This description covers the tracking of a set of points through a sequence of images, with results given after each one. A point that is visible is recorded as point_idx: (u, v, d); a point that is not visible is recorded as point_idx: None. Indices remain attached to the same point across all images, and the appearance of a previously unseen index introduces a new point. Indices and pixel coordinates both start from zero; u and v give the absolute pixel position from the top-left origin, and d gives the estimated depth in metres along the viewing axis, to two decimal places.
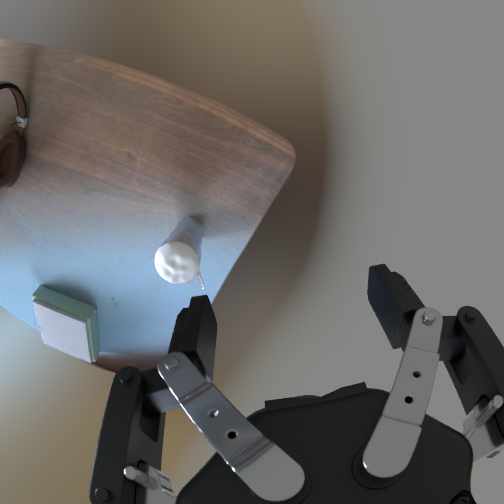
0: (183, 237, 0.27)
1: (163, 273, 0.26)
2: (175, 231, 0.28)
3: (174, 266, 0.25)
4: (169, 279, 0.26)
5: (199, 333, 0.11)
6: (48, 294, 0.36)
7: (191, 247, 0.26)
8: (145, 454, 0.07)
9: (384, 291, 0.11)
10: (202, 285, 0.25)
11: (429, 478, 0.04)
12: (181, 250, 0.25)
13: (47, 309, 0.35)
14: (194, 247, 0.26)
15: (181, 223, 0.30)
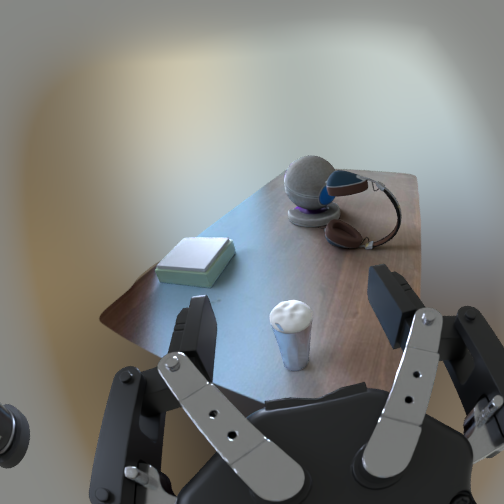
0: (311, 327, 0.29)
1: (284, 302, 0.29)
2: None
3: (292, 309, 0.28)
4: (278, 306, 0.29)
5: (199, 333, 0.11)
6: (229, 254, 0.56)
7: (308, 326, 0.27)
8: (145, 454, 0.07)
9: (384, 291, 0.11)
10: (277, 324, 0.26)
11: (429, 478, 0.04)
12: (307, 315, 0.28)
13: (220, 246, 0.54)
14: (306, 331, 0.27)
15: None
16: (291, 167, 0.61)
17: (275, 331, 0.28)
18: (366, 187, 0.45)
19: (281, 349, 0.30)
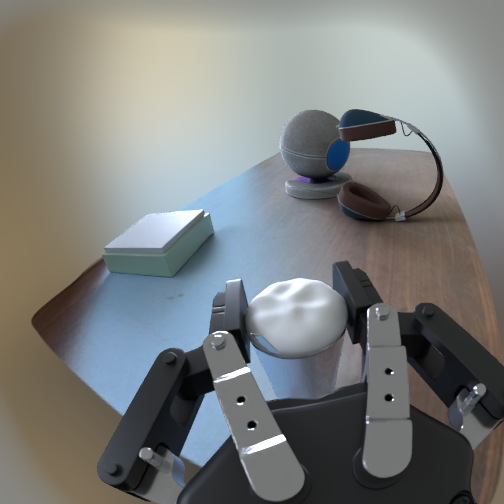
0: None
1: (279, 283, 0.13)
2: None
3: (299, 298, 0.11)
4: (264, 293, 0.12)
5: (240, 313, 0.11)
6: (203, 231, 0.39)
7: (339, 337, 0.11)
8: (168, 437, 0.07)
9: (343, 287, 0.12)
10: (259, 336, 0.09)
11: (435, 481, 0.04)
12: (337, 310, 0.11)
13: (190, 219, 0.37)
14: (334, 349, 0.11)
15: None
16: (288, 122, 0.44)
17: (259, 352, 0.11)
18: (394, 129, 0.28)
19: (276, 388, 0.13)
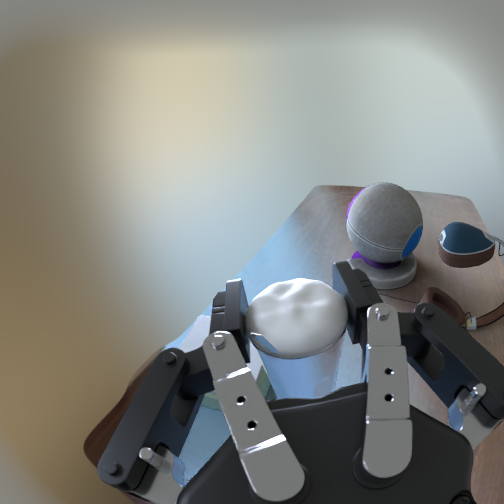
0: None
1: (279, 283, 0.13)
2: None
3: (299, 298, 0.11)
4: (264, 293, 0.12)
5: (240, 313, 0.11)
6: None
7: (339, 337, 0.11)
8: (168, 437, 0.07)
9: (343, 287, 0.12)
10: (259, 336, 0.09)
11: (435, 481, 0.04)
12: (337, 310, 0.11)
13: None
14: (334, 349, 0.11)
15: None
16: (363, 201, 0.38)
17: (259, 352, 0.11)
18: (493, 252, 0.22)
19: (276, 388, 0.13)
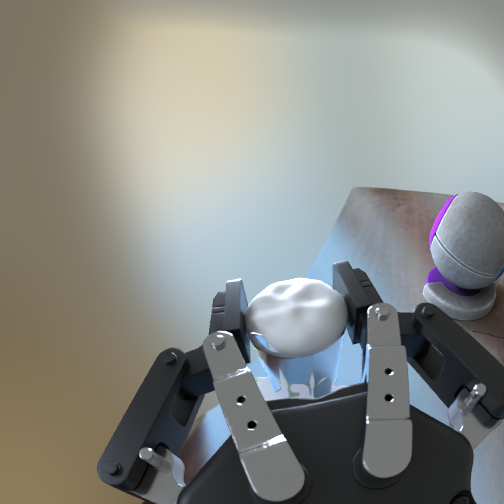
0: None
1: (279, 283, 0.13)
2: None
3: (299, 297, 0.11)
4: (264, 292, 0.12)
5: (240, 313, 0.11)
6: None
7: (339, 337, 0.11)
8: (168, 437, 0.07)
9: (343, 287, 0.12)
10: (259, 336, 0.09)
11: (435, 481, 0.04)
12: (337, 310, 0.11)
13: None
14: (334, 349, 0.11)
15: None
16: (460, 216, 0.25)
17: (259, 352, 0.11)
18: None
19: (276, 388, 0.13)
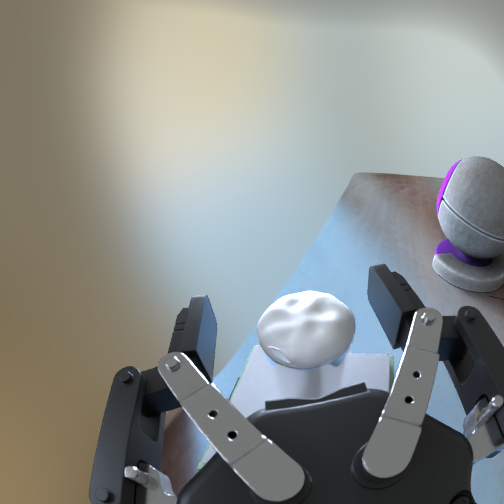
0: None
1: (290, 296, 0.13)
2: None
3: (310, 311, 0.12)
4: (276, 305, 0.13)
5: (199, 333, 0.11)
6: None
7: (347, 349, 0.11)
8: (145, 454, 0.07)
9: (384, 291, 0.11)
10: None
11: (429, 478, 0.04)
12: (346, 323, 0.11)
13: (384, 390, 0.16)
14: (342, 359, 0.11)
15: None
16: (467, 176, 0.23)
17: (271, 362, 0.12)
18: None
19: (284, 394, 0.14)
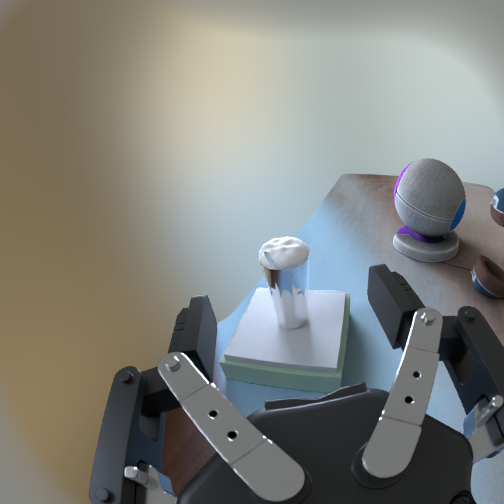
0: (308, 267, 0.25)
1: (275, 238, 0.26)
2: None
3: (285, 243, 0.24)
4: (268, 242, 0.25)
5: (199, 333, 0.11)
6: (348, 319, 0.30)
7: (304, 262, 0.24)
8: (145, 454, 0.07)
9: (384, 291, 0.11)
10: (267, 253, 0.22)
11: (429, 478, 0.04)
12: (303, 249, 0.24)
13: (341, 310, 0.28)
14: (302, 268, 0.24)
15: None
16: (413, 174, 0.35)
17: (265, 270, 0.24)
18: None
19: (274, 298, 0.26)
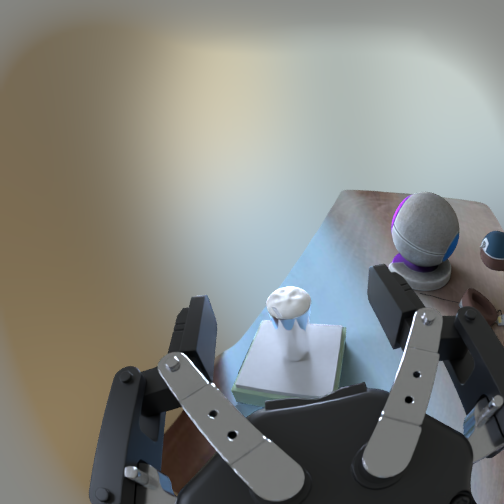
0: (309, 313, 0.28)
1: (281, 288, 0.29)
2: None
3: (290, 294, 0.28)
4: (275, 292, 0.28)
5: (199, 333, 0.11)
6: None
7: (306, 311, 0.27)
8: (145, 454, 0.07)
9: (384, 291, 0.11)
10: (274, 308, 0.25)
11: (429, 478, 0.04)
12: (305, 300, 0.27)
13: (337, 344, 0.32)
14: (304, 316, 0.27)
15: None
16: (410, 210, 0.39)
17: (272, 318, 0.27)
18: None
19: (279, 338, 0.29)
